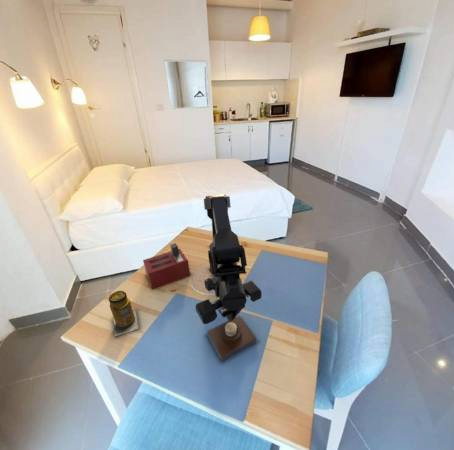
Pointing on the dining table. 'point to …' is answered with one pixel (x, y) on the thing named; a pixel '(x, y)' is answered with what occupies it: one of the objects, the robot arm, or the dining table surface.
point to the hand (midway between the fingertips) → (230, 320)
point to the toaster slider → (174, 249)
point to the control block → (231, 339)
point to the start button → (230, 329)
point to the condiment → (122, 313)
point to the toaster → (166, 268)
